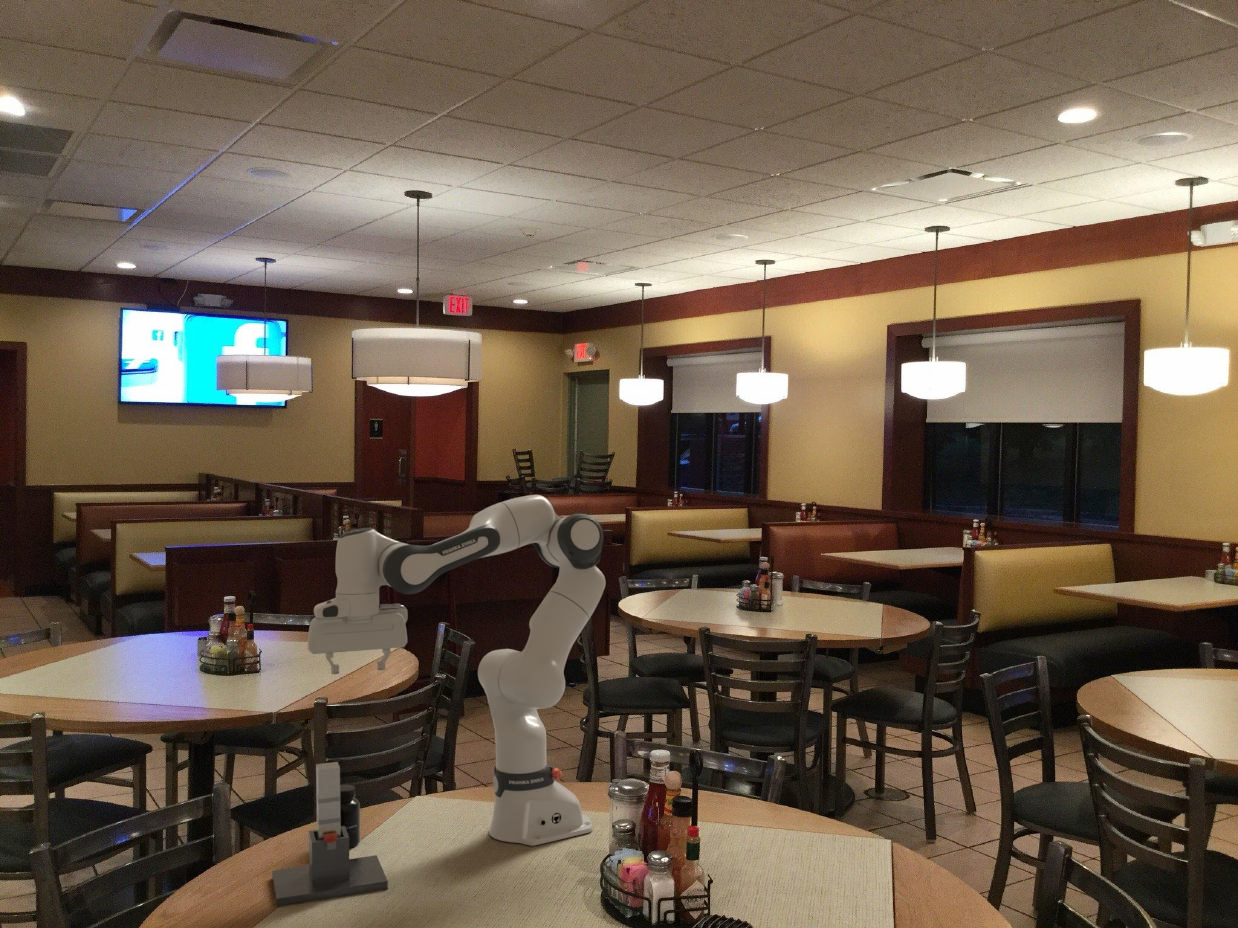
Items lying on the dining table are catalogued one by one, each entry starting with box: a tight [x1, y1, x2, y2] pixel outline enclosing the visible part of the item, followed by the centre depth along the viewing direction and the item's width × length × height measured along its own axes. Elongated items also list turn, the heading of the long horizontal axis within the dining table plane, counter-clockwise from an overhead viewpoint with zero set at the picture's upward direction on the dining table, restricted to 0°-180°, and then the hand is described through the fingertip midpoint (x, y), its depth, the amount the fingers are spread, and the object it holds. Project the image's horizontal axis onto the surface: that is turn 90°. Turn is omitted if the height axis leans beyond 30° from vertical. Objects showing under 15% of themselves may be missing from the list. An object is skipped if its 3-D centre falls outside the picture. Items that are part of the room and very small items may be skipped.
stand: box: [271, 826, 389, 908], centre depth 196 cm, size 20×14×10 cm
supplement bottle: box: [340, 784, 361, 849], centre depth 216 cm, size 7×7×12 cm
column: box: [315, 761, 341, 841], centre depth 196 cm, size 4×4×16 cm
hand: (358, 671), depth 214 cm, fingers open, 8 cm apart
